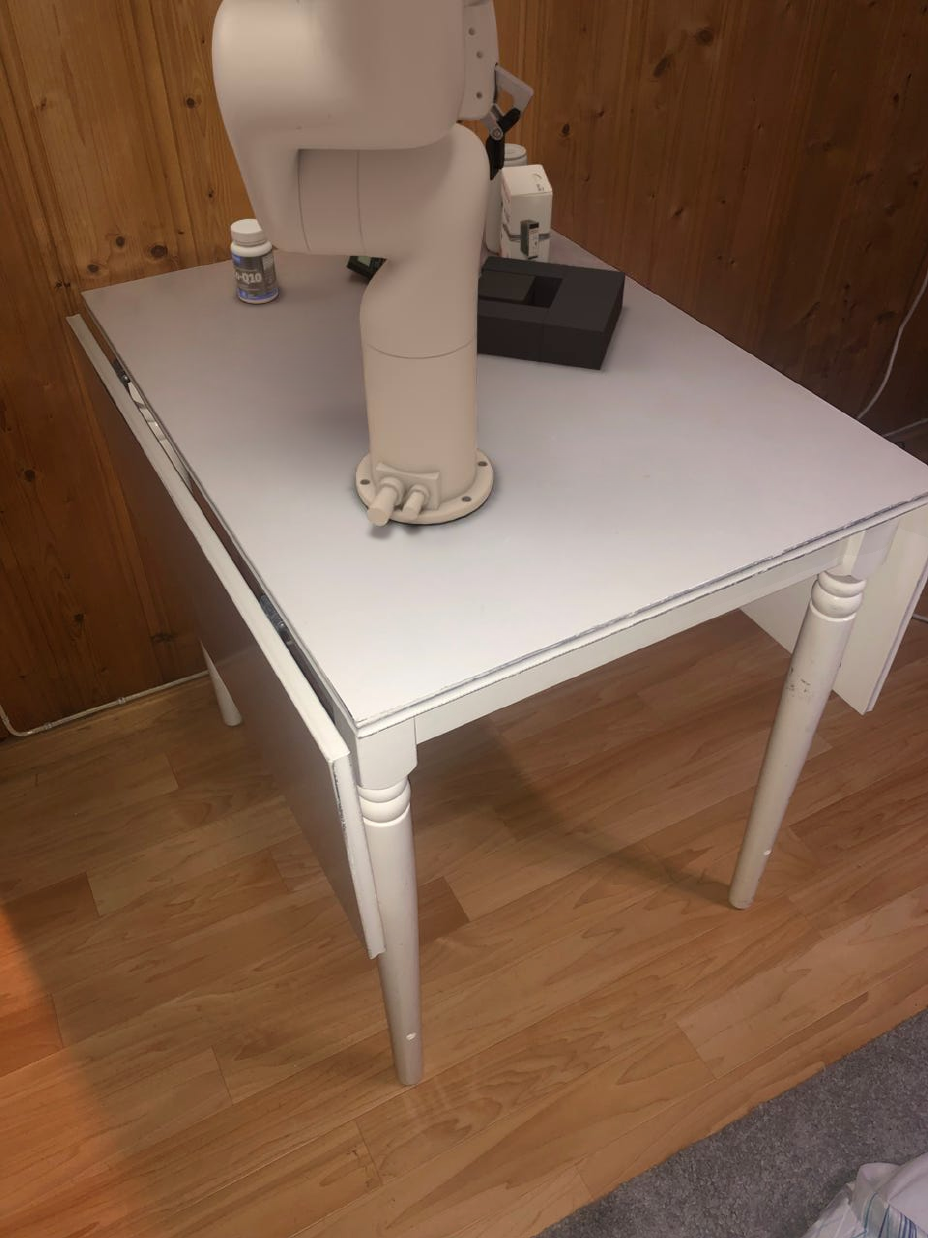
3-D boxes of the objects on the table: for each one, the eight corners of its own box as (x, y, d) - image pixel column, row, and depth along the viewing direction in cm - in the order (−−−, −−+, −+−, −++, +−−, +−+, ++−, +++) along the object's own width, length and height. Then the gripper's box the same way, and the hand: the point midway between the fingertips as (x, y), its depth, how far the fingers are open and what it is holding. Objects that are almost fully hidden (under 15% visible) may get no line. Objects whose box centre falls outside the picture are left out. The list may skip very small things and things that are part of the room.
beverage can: (524, 256, 127) (527, 157, 119) (485, 256, 127) (486, 157, 119) (523, 239, 131) (526, 142, 122) (485, 239, 131) (486, 142, 122)
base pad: (455, 349, 111) (454, 311, 108) (488, 291, 121) (488, 255, 117) (600, 370, 108) (603, 331, 105) (621, 308, 117) (626, 271, 114)
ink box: (497, 261, 126) (499, 164, 118) (536, 259, 127) (541, 162, 118) (507, 293, 120) (510, 193, 112) (548, 291, 121) (553, 191, 112)
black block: (521, 338, 113) (523, 300, 110) (469, 330, 114) (469, 293, 111) (533, 312, 117) (535, 275, 114) (483, 306, 118) (483, 269, 115)
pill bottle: (231, 300, 119) (218, 230, 113) (250, 283, 122) (239, 214, 117) (267, 307, 118) (256, 236, 112) (285, 289, 121) (276, 219, 115)
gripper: (341, -18, 92) (356, 174, 104) (526, -5, 89) (519, 193, 101) (370, -37, 97) (381, 148, 109) (546, -25, 94) (537, 165, 106)
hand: (447, 170), depth 105 cm, fingers open, 9 cm apart
